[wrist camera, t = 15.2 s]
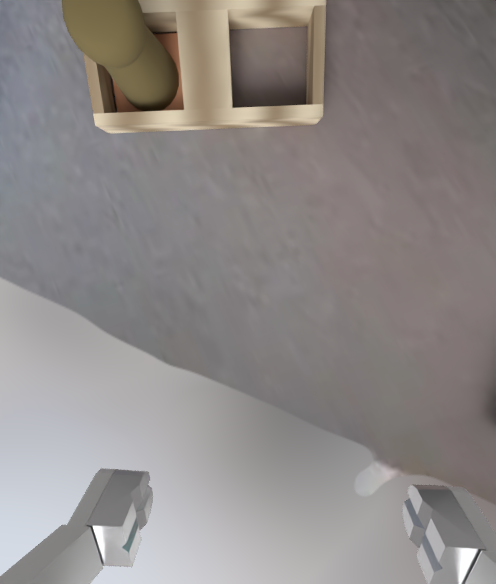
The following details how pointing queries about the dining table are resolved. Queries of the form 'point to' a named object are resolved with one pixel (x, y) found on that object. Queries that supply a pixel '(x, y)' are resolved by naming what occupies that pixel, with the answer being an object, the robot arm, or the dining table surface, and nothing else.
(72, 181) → the dining table surface
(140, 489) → the robot arm
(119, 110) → the socket rail
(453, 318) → the dining table surface
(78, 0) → the olive round-headed peg
